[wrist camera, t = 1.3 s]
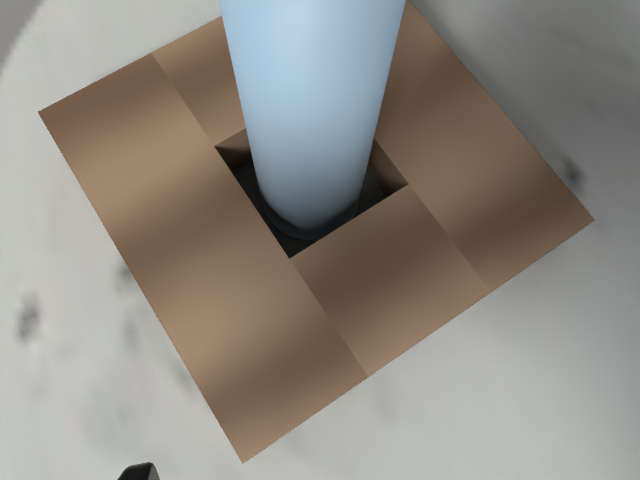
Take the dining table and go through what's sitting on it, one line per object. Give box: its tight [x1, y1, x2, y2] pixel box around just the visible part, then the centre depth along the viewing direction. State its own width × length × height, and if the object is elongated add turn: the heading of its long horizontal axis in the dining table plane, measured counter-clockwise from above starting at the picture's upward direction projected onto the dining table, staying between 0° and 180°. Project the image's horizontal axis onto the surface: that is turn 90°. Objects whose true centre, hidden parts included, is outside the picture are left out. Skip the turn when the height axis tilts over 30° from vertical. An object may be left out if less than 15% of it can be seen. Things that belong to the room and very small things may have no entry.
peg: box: [219, 0, 406, 240], centre depth 19 cm, size 4×4×14 cm
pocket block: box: [38, 0, 595, 463], centre depth 24 cm, size 16×16×3 cm
